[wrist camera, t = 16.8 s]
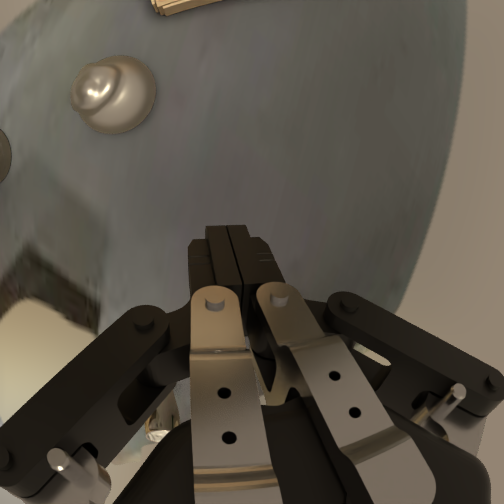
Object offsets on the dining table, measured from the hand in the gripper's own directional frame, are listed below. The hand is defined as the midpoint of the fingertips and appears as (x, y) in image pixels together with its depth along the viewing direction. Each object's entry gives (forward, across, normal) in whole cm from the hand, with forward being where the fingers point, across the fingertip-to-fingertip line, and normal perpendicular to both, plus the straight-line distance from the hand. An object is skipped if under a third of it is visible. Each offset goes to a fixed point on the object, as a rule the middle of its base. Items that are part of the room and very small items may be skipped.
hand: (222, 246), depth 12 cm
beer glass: (+29, +8, +50) cm, 58 cm away
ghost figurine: (+29, +9, -4) cm, 31 cm away
